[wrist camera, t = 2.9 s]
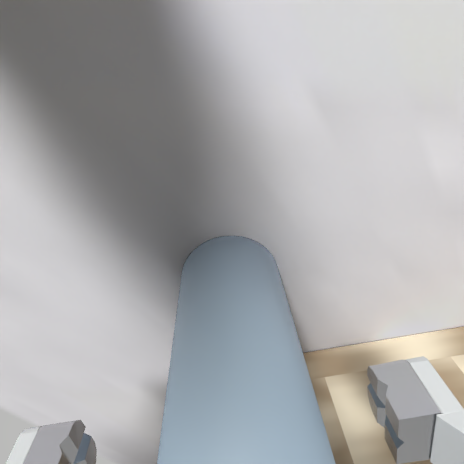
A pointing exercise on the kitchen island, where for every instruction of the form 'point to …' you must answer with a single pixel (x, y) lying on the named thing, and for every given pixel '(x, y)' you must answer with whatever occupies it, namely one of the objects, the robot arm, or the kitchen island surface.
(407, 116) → the kitchen island surface
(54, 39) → the kitchen island surface
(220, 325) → the pin
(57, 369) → the kitchen island surface
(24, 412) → the kitchen island surface
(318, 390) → the bore block
